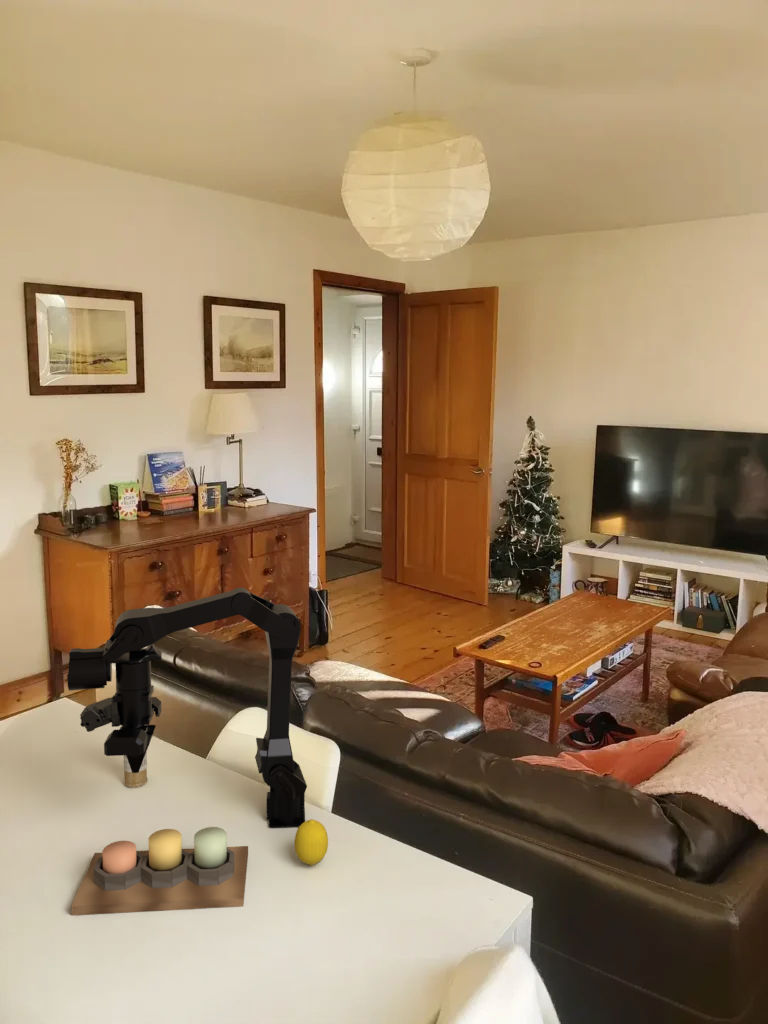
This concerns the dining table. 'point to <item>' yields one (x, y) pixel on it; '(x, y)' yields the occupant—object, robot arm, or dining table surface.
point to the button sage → (210, 847)
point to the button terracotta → (119, 857)
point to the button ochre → (165, 849)
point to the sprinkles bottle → (135, 778)
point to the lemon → (311, 842)
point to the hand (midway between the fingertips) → (135, 771)
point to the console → (163, 885)
